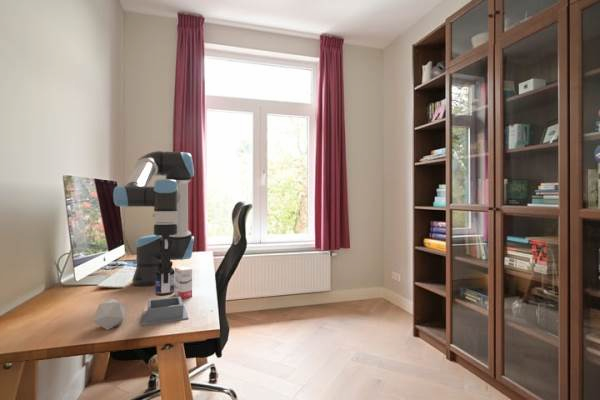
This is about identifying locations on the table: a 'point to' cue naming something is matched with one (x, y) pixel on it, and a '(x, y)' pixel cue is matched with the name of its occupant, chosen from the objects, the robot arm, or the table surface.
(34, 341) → the table surface
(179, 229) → the robot arm
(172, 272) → the pill bottle
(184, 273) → the ink box
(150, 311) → the well
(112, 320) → the die
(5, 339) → the table surface
